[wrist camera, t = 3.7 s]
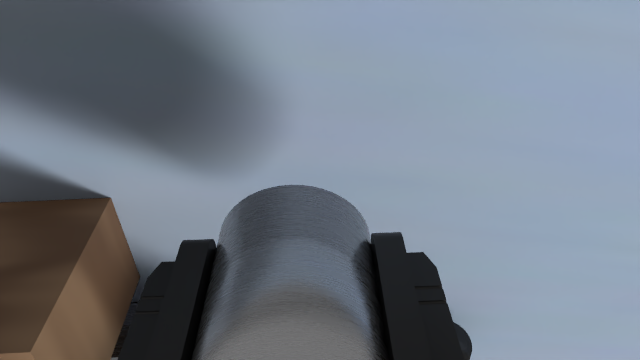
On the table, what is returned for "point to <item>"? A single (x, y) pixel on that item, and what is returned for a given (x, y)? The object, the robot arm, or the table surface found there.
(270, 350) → the metal cylinder
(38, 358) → the walnut block
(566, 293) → the table surface
